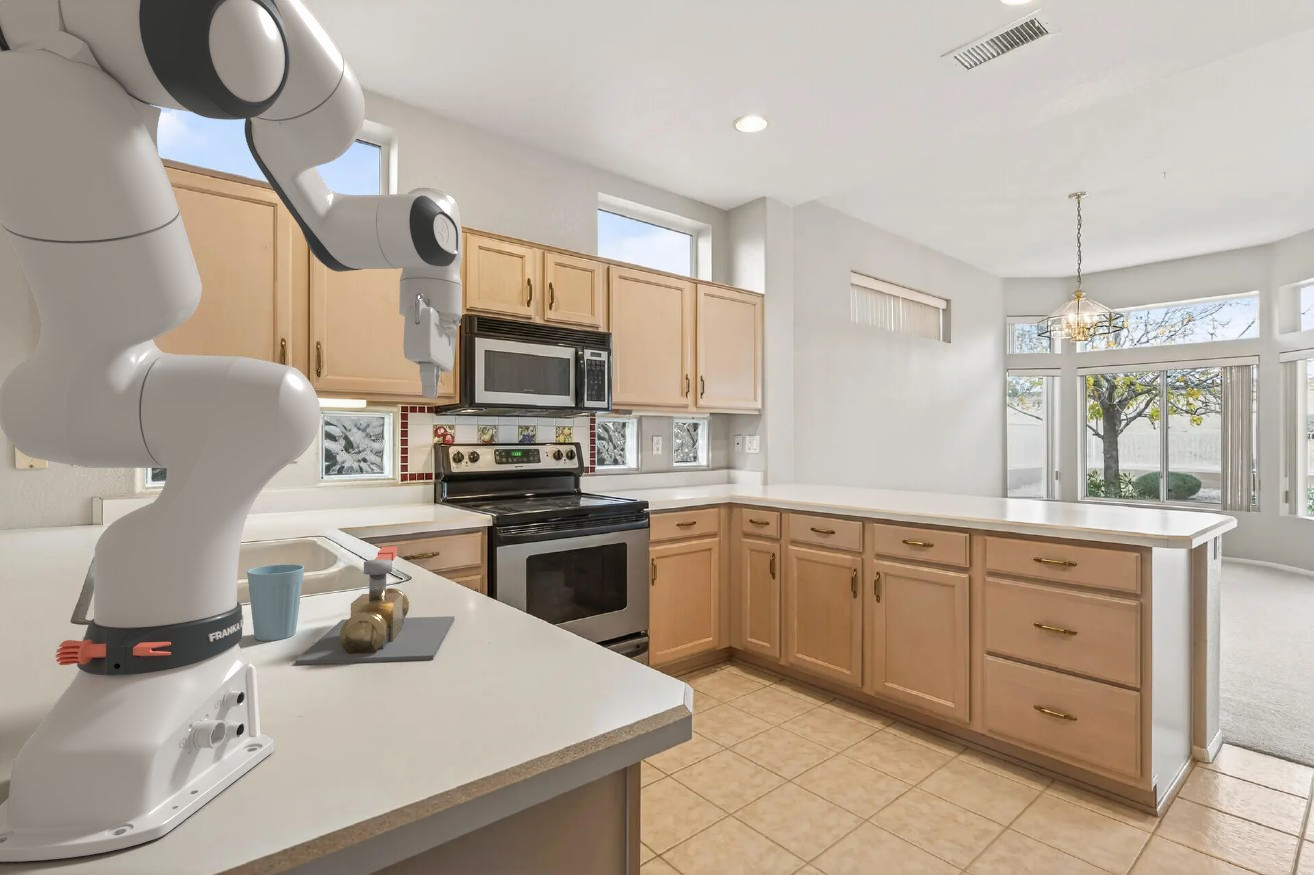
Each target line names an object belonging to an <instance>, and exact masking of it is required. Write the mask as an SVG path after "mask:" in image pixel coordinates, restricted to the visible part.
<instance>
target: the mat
mask: <svg viewBox="0 0 1314 875" xmlns="http://www.w3.org/2000/svg"><path fill="white" fill-rule="evenodd" d="M348 619H349V618H347V619H346V618H345V619H341V620H340V621H339V622H338V623H337V624H335V625H334V626H333V627H332V628H331V629H329V631H328V632H327V633H325V634H324V635H323V636H322V637H320V638H319V639H318V640H317V641H316V642H315V643H314V644H313V645H311V646H310V647H309V648H308V649H307V650H306V651H304V652H303V653H302V654H301V655H300V656H299V657H297V659H295V663H294V664H295V665H296V666H297V665H298V666H299V665H323V664H326V665H327V664H348V663H349V664H350V663H351V664H352V663H353V664H354V663H379V662H402V661H403V662H404V661H405V662H406V661H426V660H427V661H431V660H434V659H435V657H436V655H437V653H438V652H439V649H440V648H441V645H442V643H443V642H444V640H445V638H446V636H447V635H448V632H449V631H450V629H451V627H452V626H453V623H454V622H455V616H426V617H425V616H422V617H419V616H418V617H417V616H416V617H405V618H404V624H403V625H402V631H401V632H400V633H399V634H398V636H397V637H396V638H395V639H394V641H393V642H389V643H388V644H387V645H386V646H385V648H384V649H378V650H377V651H376V652H375V653H357V654H349V653H348V652H346V651H345V650H344V648H343V647H342V645H341V643H340V630H341V628H342V626H343V624H344V623H345V622H346V621H347V620H348Z"/></svg>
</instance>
